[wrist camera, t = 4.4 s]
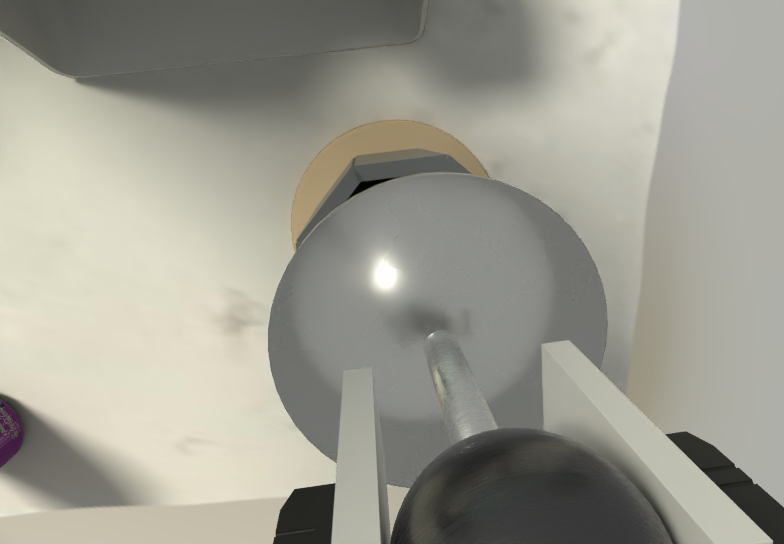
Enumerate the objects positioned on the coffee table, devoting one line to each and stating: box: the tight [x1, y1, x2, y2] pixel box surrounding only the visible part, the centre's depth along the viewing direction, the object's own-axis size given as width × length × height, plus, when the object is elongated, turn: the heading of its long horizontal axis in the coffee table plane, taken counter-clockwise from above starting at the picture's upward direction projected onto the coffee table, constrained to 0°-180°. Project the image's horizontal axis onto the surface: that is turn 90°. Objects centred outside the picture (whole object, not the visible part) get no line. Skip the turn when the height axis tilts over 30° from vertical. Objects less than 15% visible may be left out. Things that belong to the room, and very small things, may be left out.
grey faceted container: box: [291, 120, 489, 253], centre depth 31 cm, size 17×16×13 cm
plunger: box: [268, 172, 673, 544], centre depth 17 cm, size 12×12×23 cm
